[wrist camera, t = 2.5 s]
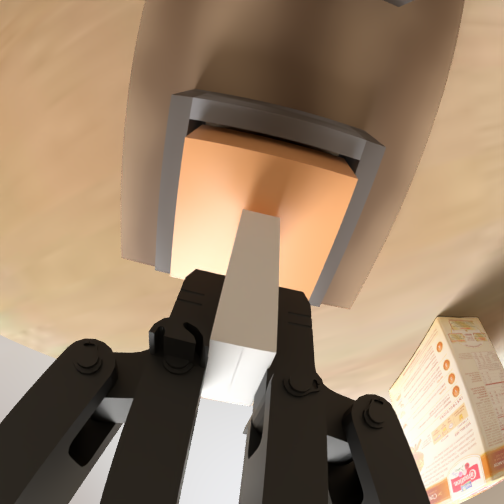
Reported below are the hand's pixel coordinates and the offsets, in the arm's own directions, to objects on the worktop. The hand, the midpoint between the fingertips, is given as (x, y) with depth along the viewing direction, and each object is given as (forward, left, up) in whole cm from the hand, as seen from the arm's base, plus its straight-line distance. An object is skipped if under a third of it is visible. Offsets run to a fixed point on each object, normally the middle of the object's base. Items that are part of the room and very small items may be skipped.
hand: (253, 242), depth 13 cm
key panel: (0, +9, -11) cm, 14 cm away
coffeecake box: (+26, -17, -11) cm, 33 cm away
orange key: (0, 0, -4) cm, 4 cm away
